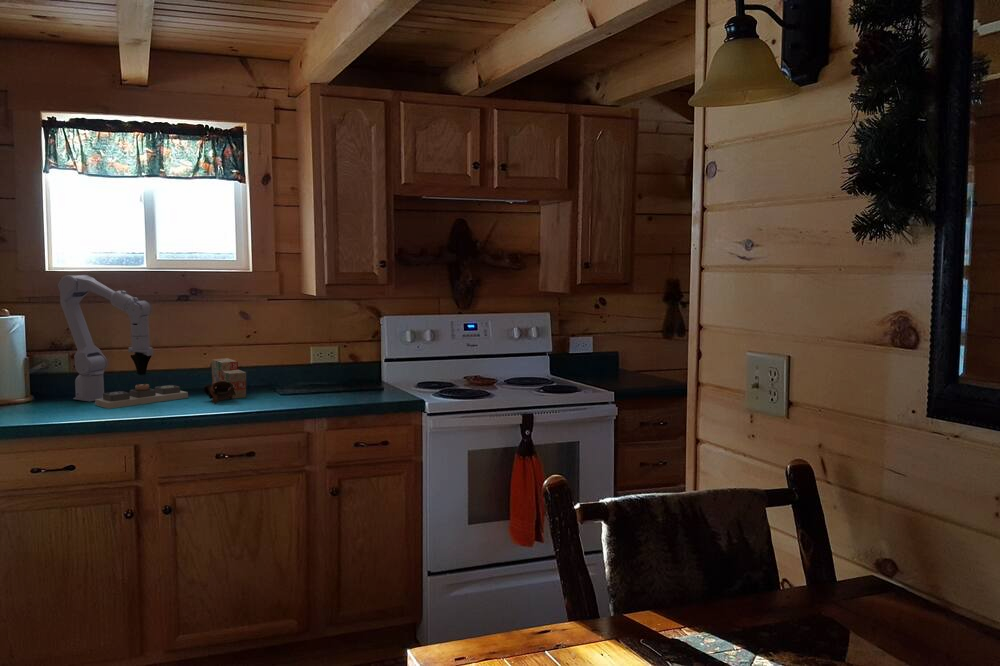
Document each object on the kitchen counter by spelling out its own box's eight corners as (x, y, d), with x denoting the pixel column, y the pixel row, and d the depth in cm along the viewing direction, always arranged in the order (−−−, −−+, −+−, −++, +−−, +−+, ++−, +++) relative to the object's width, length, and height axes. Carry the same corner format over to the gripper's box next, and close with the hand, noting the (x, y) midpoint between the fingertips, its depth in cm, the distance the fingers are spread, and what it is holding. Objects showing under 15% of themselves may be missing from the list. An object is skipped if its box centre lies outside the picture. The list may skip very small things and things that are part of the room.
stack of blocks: (246, 397, 287) (246, 363, 286) (229, 399, 284) (228, 365, 283) (228, 389, 305) (227, 357, 304) (212, 390, 301) (211, 358, 300)
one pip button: (164, 392, 282) (164, 387, 282) (158, 390, 285) (158, 386, 284) (176, 390, 285) (176, 386, 285) (170, 389, 288) (170, 385, 288)
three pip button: (139, 390, 275) (138, 386, 275) (133, 389, 278) (133, 384, 278) (151, 389, 278) (151, 384, 278) (145, 387, 281) (145, 383, 281)
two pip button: (112, 399, 268) (112, 394, 268) (107, 397, 271) (106, 393, 271) (125, 397, 272) (125, 392, 271) (120, 396, 274) (119, 391, 274)
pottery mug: (240, 400, 284) (240, 382, 280) (227, 416, 277) (226, 398, 272) (209, 391, 285) (208, 373, 281) (195, 406, 278) (194, 388, 273)
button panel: (108, 408, 264) (107, 396, 264) (95, 405, 271) (94, 393, 271) (188, 397, 286) (187, 386, 285) (174, 394, 292) (173, 383, 292)
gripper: (161, 336, 274) (162, 375, 276) (142, 333, 284) (143, 371, 285) (141, 337, 269) (142, 377, 270) (121, 334, 278) (123, 373, 280)
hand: (141, 374), depth 277 cm, fingers closed
